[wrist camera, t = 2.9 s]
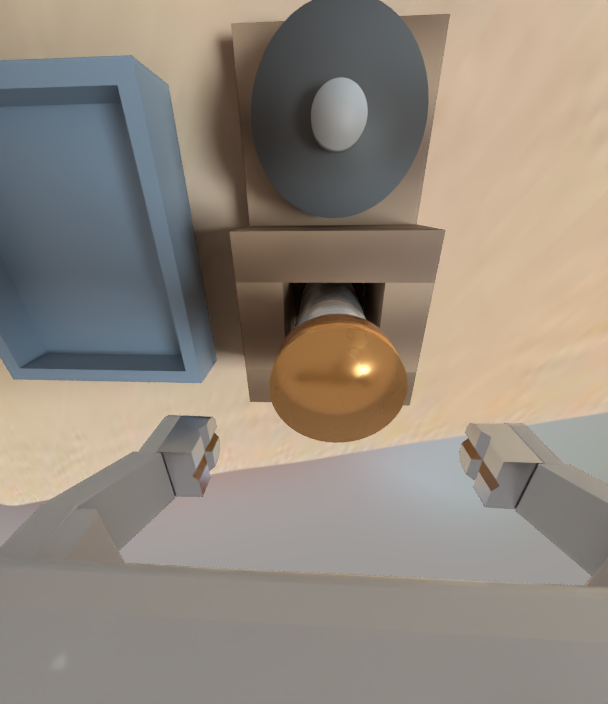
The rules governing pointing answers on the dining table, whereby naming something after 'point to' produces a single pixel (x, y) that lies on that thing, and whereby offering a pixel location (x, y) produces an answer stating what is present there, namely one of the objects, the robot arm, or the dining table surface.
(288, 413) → the pin
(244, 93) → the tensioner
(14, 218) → the tray
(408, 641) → the robot arm
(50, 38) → the dining table surface
